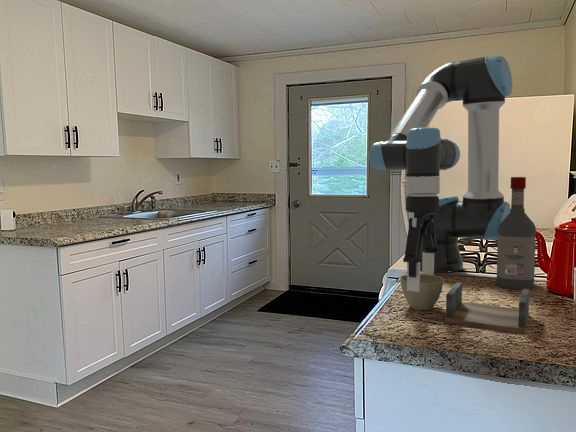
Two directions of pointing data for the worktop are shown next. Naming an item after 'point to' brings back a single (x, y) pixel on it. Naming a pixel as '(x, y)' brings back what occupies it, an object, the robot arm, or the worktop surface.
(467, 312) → the cradle
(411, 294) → the flower pot
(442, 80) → the robot arm
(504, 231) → the liquor
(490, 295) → the worktop surface
